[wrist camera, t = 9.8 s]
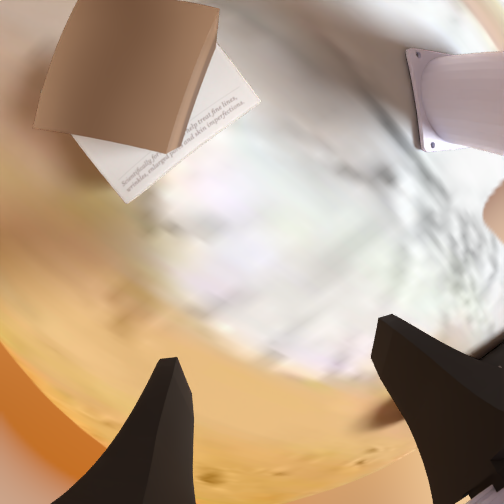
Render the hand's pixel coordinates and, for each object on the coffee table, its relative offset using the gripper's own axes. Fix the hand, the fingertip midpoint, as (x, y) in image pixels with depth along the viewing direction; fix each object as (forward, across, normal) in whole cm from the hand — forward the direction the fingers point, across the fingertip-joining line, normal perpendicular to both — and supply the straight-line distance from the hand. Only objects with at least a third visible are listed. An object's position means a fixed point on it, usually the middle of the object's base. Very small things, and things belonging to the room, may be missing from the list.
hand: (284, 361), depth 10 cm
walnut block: (+6, +4, -10) cm, 12 cm away
